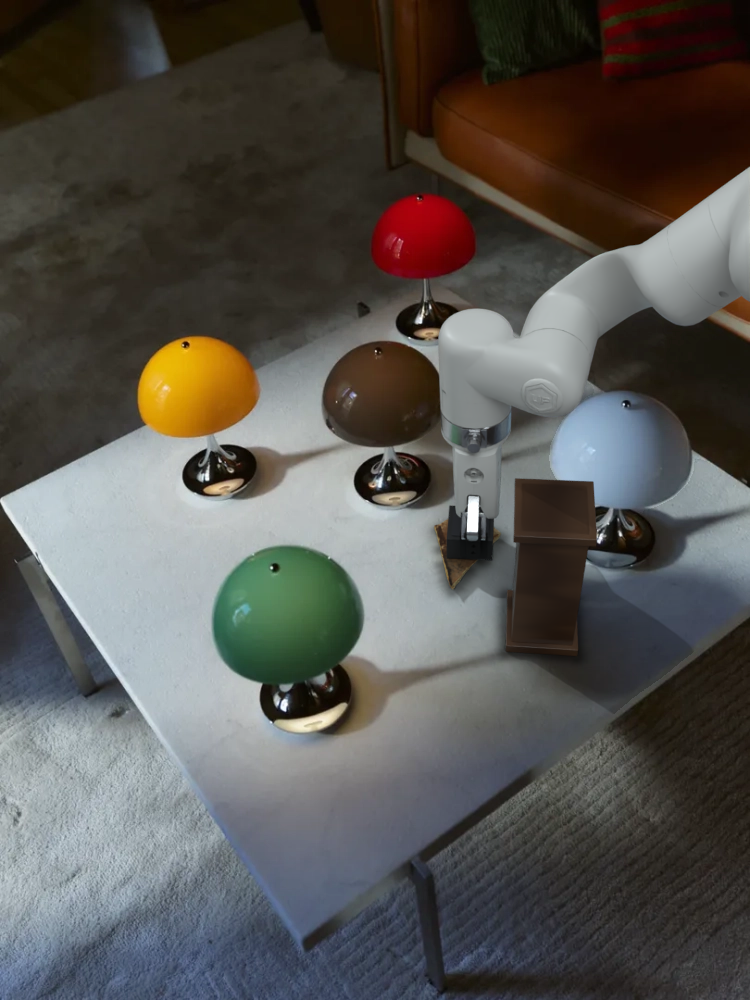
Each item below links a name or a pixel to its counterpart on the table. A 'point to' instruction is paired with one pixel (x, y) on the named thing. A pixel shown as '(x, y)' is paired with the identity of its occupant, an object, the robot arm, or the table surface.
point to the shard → (454, 566)
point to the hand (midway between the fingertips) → (475, 525)
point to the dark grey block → (454, 535)
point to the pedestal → (549, 564)
